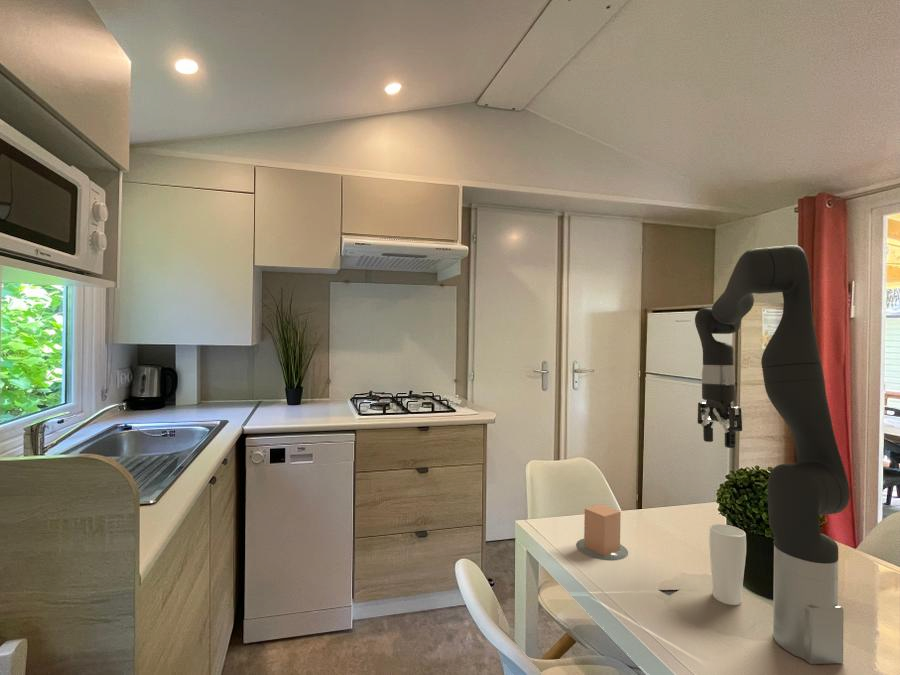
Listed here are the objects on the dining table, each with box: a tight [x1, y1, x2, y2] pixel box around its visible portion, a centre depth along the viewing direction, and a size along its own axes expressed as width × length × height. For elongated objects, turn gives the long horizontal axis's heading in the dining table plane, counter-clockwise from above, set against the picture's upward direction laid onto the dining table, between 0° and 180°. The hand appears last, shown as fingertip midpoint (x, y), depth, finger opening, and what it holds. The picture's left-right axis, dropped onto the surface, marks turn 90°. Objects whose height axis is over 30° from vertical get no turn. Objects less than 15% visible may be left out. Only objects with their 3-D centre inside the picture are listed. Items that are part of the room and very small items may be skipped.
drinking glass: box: [708, 523, 747, 606], centre depth 96 cm, size 7×7×15 cm
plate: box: [575, 538, 629, 561], centre depth 118 cm, size 13×13×1 cm
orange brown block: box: [583, 503, 622, 556], centre depth 118 cm, size 6×6×10 cm
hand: (718, 444), depth 117 cm, fingers open, 8 cm apart
